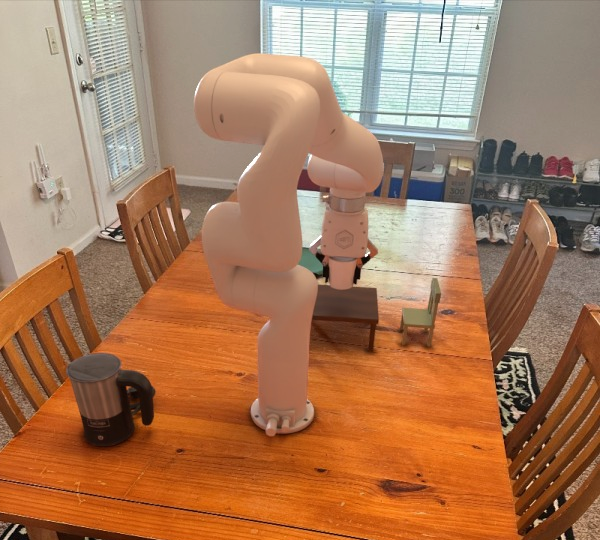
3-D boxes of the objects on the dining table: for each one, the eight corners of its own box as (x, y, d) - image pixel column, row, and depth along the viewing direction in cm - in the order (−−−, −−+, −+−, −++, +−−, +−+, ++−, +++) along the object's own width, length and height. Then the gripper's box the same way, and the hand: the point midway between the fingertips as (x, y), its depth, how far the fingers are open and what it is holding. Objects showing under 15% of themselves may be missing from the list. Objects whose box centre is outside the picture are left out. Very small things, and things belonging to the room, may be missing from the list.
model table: (374, 353, 132) (378, 319, 126) (297, 348, 133) (298, 314, 127) (372, 320, 145) (376, 287, 139) (302, 315, 145) (303, 283, 140)
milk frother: (82, 451, 103) (64, 384, 94) (83, 400, 114) (67, 337, 106) (162, 438, 106) (152, 373, 97) (155, 390, 118) (145, 328, 109)
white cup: (321, 286, 130) (322, 257, 125) (333, 275, 134) (335, 247, 130) (348, 293, 127) (350, 264, 123) (360, 281, 132) (363, 253, 128)
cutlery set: (331, 282, 161) (331, 275, 160) (227, 274, 164) (227, 267, 162) (335, 255, 177) (336, 248, 176) (241, 248, 179) (241, 241, 178)
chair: (430, 347, 134) (441, 293, 126) (401, 345, 135) (409, 291, 126) (427, 330, 141) (437, 278, 132) (399, 328, 141) (407, 276, 133)
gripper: (305, 206, 117) (302, 286, 128) (388, 210, 116) (379, 290, 127) (307, 194, 123) (304, 272, 134) (387, 198, 122) (377, 276, 133)
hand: (341, 280), depth 130 cm, fingers closed on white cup, 5 cm apart
